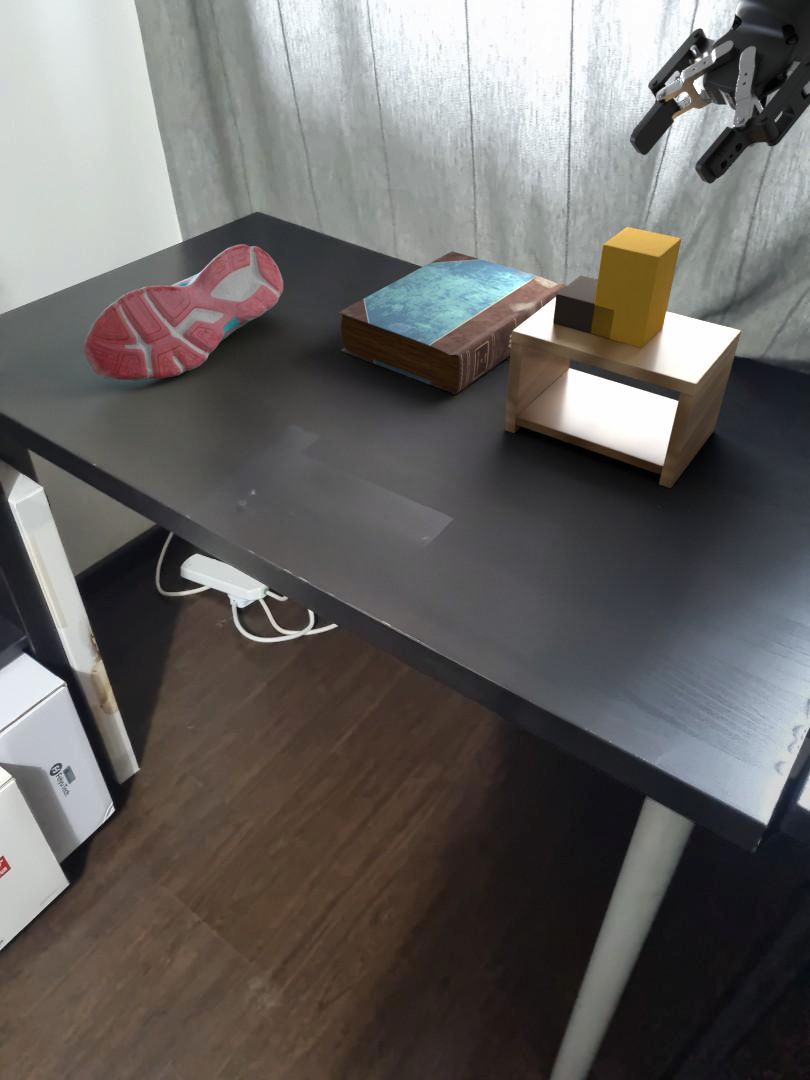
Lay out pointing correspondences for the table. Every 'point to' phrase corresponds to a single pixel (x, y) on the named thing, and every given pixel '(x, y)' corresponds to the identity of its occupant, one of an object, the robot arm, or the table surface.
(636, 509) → the table surface
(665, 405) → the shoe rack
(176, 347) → the athletic shoe
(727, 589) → the table surface
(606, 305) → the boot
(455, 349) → the book
